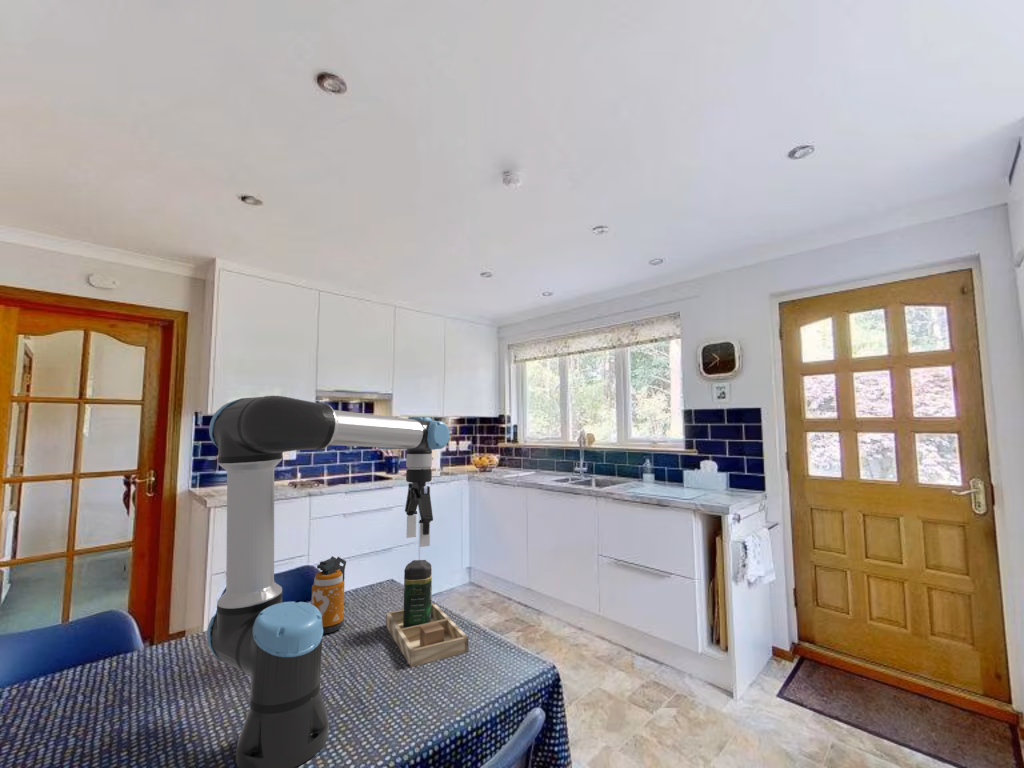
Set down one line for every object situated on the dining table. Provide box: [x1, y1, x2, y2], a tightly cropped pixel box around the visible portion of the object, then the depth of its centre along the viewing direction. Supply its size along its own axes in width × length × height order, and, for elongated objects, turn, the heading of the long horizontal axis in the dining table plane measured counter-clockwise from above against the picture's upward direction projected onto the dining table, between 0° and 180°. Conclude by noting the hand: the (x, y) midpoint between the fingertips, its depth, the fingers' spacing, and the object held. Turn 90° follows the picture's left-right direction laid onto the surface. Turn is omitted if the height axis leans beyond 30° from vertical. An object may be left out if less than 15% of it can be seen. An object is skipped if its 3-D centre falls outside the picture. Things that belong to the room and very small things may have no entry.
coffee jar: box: [403, 559, 433, 628], centre depth 128 cm, size 10×8×19 cm
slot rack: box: [385, 603, 469, 668], centre depth 122 cm, size 27×15×4 cm, turn 28°
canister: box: [310, 556, 347, 635], centre depth 132 cm, size 9×11×20 cm
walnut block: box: [420, 622, 444, 647], centre depth 116 cm, size 5×5×5 cm
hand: (417, 541), depth 130 cm, fingers open, 13 cm apart
